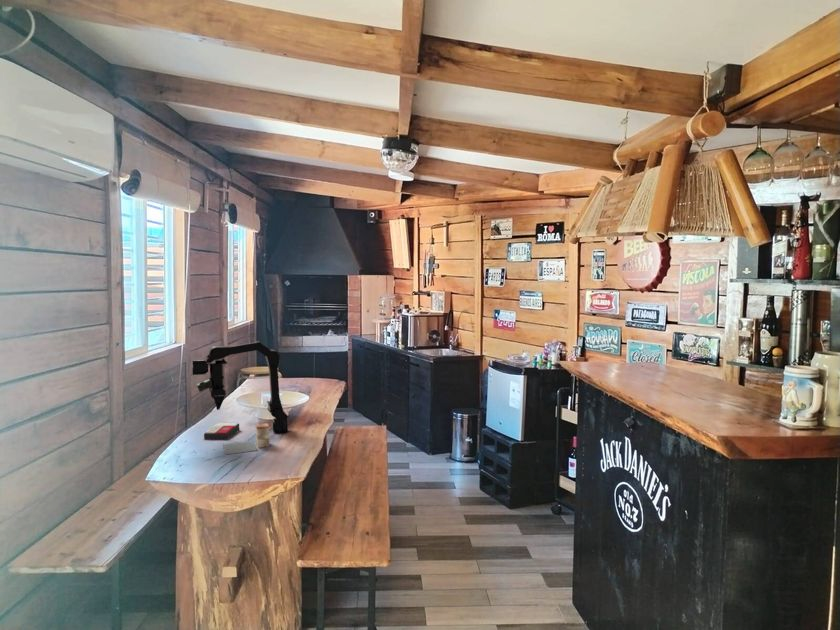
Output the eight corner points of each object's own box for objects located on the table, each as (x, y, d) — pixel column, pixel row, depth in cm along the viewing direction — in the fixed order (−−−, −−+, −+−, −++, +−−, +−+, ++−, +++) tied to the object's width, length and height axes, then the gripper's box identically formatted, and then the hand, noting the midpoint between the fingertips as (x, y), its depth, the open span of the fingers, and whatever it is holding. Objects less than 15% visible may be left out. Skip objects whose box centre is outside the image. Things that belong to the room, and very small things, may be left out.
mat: (253, 441, 241) (253, 440, 241) (257, 450, 228) (257, 449, 228) (223, 445, 235) (223, 444, 235) (225, 454, 223) (225, 454, 223)
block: (267, 442, 239) (267, 423, 238) (269, 446, 234) (268, 426, 234) (256, 444, 237) (255, 424, 236) (257, 447, 232) (257, 427, 232)
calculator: (203, 432, 244) (217, 421, 258) (203, 441, 244) (217, 430, 259) (226, 432, 243) (239, 422, 258) (227, 441, 244) (239, 430, 258)
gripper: (196, 371, 248) (197, 404, 249) (198, 378, 231) (199, 414, 232) (222, 370, 252) (223, 402, 253) (225, 376, 235) (226, 411, 236)
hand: (217, 407), depth 244 cm, fingers open, 9 cm apart
